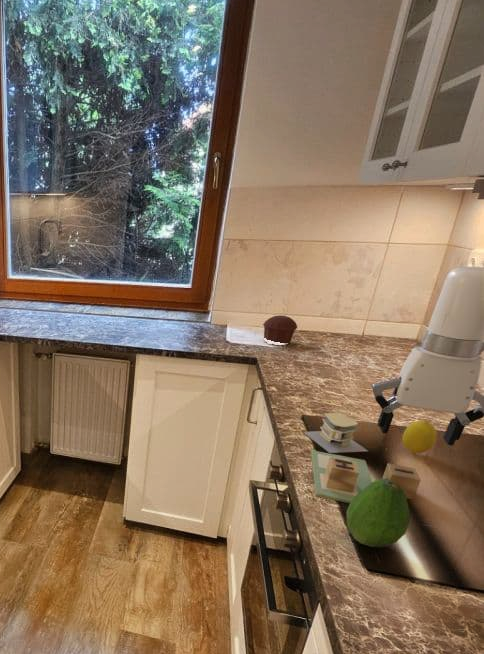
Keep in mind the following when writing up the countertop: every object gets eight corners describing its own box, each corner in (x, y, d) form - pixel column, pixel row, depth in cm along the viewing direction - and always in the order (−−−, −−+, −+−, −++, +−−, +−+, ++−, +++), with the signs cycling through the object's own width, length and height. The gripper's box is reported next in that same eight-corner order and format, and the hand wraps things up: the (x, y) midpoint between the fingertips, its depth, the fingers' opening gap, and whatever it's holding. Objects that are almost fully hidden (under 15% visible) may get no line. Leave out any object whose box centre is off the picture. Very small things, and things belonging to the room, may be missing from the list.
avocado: (343, 550, 75) (365, 487, 70) (336, 522, 81) (356, 462, 76) (403, 565, 72) (430, 500, 67) (391, 534, 78) (415, 473, 73)
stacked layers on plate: (302, 432, 112) (308, 411, 110) (338, 430, 113) (344, 409, 110) (329, 453, 103) (336, 430, 101) (368, 451, 103) (375, 429, 101)
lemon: (435, 458, 101) (449, 425, 97) (413, 461, 100) (426, 427, 96) (412, 446, 105) (424, 414, 102) (391, 448, 105) (402, 416, 101)
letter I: (407, 487, 91) (415, 467, 89) (412, 499, 87) (421, 479, 85) (380, 482, 93) (387, 462, 91) (384, 493, 89) (392, 473, 87)
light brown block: (349, 481, 92) (356, 461, 90) (352, 493, 88) (359, 472, 86) (324, 475, 93) (330, 456, 92) (325, 487, 90) (331, 466, 88)
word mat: (364, 462, 99) (365, 459, 99) (378, 509, 84) (379, 506, 84) (311, 452, 103) (311, 449, 103) (315, 495, 88) (316, 492, 88)
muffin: (283, 338, 184) (289, 312, 179) (299, 346, 174) (306, 320, 169) (254, 338, 183) (259, 313, 179) (268, 347, 173) (274, 320, 169)
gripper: (509, 346, 78) (468, 437, 85) (384, 332, 84) (356, 418, 92) (529, 359, 71) (482, 456, 79) (392, 343, 78) (361, 434, 85)
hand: (414, 436), depth 85 cm, fingers open, 9 cm apart
